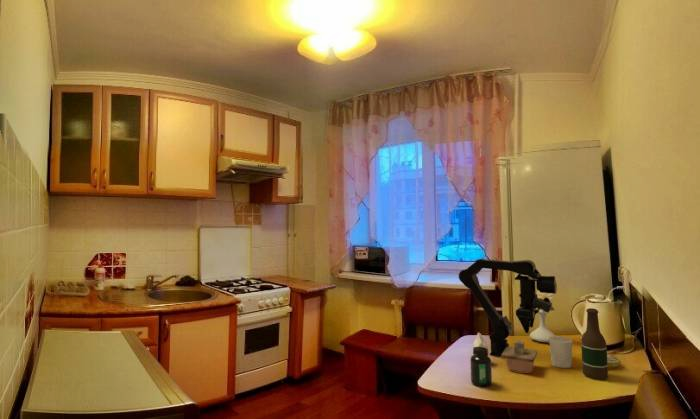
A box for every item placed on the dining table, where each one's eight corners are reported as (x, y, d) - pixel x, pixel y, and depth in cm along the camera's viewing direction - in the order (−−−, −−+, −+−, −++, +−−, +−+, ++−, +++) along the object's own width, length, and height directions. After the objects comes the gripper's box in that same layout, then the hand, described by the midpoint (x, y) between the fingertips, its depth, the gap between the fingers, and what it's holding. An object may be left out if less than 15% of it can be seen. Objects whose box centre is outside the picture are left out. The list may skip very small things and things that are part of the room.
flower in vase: (524, 338, 180) (522, 285, 181) (544, 336, 183) (542, 284, 183) (544, 347, 167) (542, 290, 168) (565, 344, 170) (563, 289, 171)
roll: (487, 335, 146) (472, 334, 148) (488, 366, 146) (473, 365, 148) (487, 331, 152) (472, 330, 154) (488, 361, 151) (473, 359, 153)
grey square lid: (501, 357, 142) (500, 343, 142) (507, 348, 151) (506, 336, 152) (533, 362, 136) (532, 348, 136) (537, 353, 145) (537, 340, 145)
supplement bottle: (486, 389, 126) (485, 353, 127) (467, 384, 131) (466, 349, 131) (495, 383, 131) (493, 348, 132) (476, 377, 136) (475, 344, 136)
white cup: (576, 369, 142) (575, 342, 142) (553, 368, 143) (552, 341, 144) (568, 361, 149) (567, 336, 150) (547, 360, 151) (546, 335, 151)
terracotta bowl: (505, 370, 142) (504, 356, 142) (509, 362, 150) (509, 349, 150) (531, 375, 137) (530, 361, 137) (534, 366, 145) (534, 353, 145)
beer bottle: (577, 372, 139) (574, 307, 140) (597, 371, 139) (594, 306, 140) (592, 381, 131) (589, 312, 132) (613, 380, 132) (610, 311, 133)
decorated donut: (624, 365, 145) (624, 355, 145) (616, 373, 138) (616, 362, 138) (593, 358, 153) (593, 348, 153) (584, 365, 146) (584, 355, 146)
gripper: (546, 297, 141) (548, 339, 140) (553, 289, 156) (554, 327, 155) (514, 294, 147) (516, 334, 147) (524, 287, 162) (525, 323, 162)
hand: (529, 330), depth 152 cm, fingers open, 9 cm apart
